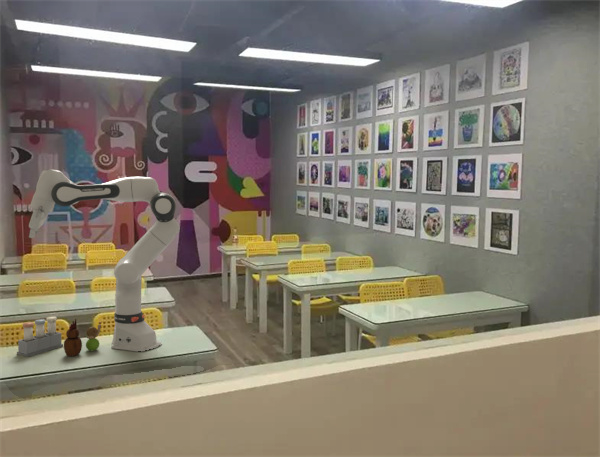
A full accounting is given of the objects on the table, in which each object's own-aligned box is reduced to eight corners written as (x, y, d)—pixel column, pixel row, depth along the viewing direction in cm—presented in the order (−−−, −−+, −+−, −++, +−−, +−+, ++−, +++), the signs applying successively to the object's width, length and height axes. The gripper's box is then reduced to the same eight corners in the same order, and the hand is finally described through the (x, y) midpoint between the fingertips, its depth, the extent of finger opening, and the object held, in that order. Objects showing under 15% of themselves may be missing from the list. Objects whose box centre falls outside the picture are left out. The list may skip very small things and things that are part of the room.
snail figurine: (103, 350, 222) (103, 322, 222) (89, 353, 218) (88, 325, 217) (98, 347, 226) (98, 320, 225) (83, 350, 222) (83, 323, 221)
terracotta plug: (36, 341, 216) (35, 322, 215) (27, 344, 212) (26, 325, 212) (29, 340, 218) (29, 321, 217) (20, 342, 214) (20, 323, 214)
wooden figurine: (77, 351, 219) (76, 317, 218) (84, 354, 216) (83, 319, 215) (61, 355, 214) (61, 320, 213) (68, 358, 211) (67, 322, 209)
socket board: (63, 346, 226) (62, 333, 226) (27, 357, 211) (27, 342, 211) (52, 344, 229) (52, 330, 229) (16, 354, 215) (16, 340, 214)
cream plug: (58, 335, 226) (58, 317, 225) (50, 337, 222) (50, 319, 222) (52, 333, 228) (52, 316, 227) (44, 336, 224) (44, 318, 223)
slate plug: (47, 338, 221) (47, 320, 220) (39, 340, 217) (38, 322, 217) (41, 337, 223) (41, 318, 222) (33, 339, 219) (32, 320, 219)
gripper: (47, 209, 211) (37, 241, 211) (52, 206, 230) (43, 235, 230) (30, 204, 209) (20, 237, 209) (37, 201, 228) (28, 231, 228)
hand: (32, 236), depth 220 cm, fingers open, 8 cm apart
